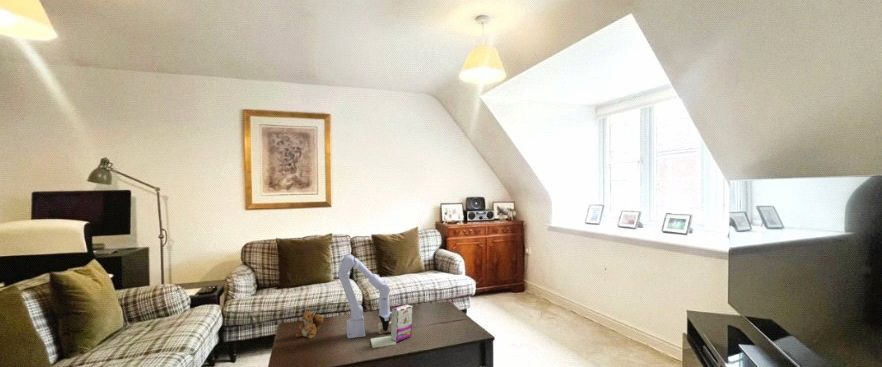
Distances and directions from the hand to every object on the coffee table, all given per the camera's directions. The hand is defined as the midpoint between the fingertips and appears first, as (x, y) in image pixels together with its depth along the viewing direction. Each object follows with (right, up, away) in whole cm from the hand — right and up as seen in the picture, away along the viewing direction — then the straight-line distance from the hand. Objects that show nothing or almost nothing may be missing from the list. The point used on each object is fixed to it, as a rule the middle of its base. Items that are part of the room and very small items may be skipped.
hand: (385, 329), depth 212 cm
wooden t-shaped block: (0, -1, 0) cm, 1 cm away
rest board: (+1, -1, -14) cm, 14 cm away
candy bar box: (+10, -1, -10) cm, 14 cm away
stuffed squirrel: (-41, -3, 0) cm, 41 cm away
